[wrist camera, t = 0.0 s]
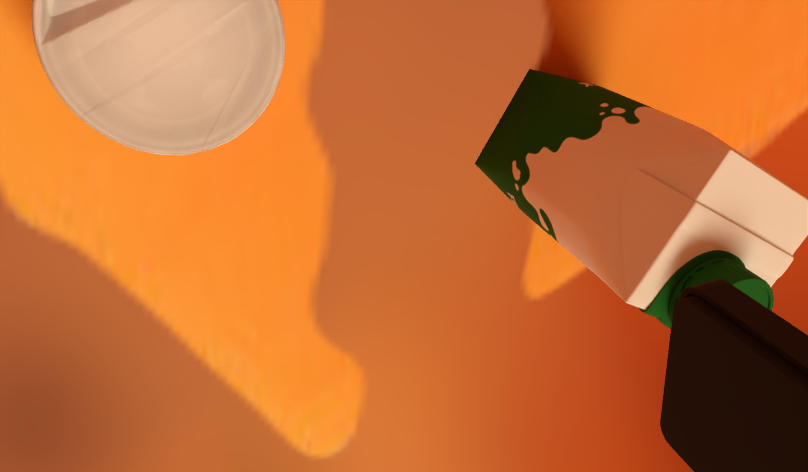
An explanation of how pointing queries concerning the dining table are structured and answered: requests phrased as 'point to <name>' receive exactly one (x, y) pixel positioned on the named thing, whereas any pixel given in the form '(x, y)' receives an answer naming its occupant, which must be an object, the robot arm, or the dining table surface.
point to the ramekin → (163, 67)
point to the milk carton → (642, 194)
